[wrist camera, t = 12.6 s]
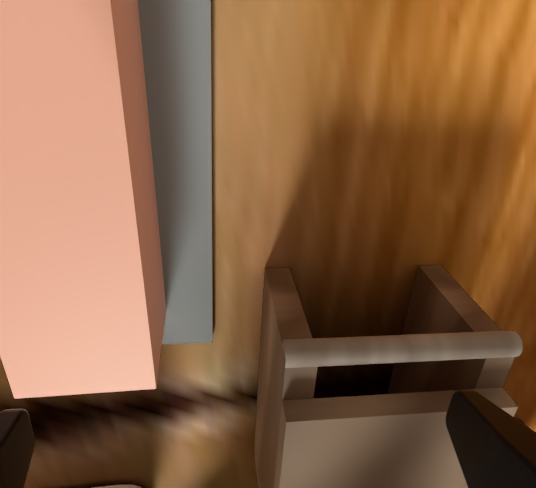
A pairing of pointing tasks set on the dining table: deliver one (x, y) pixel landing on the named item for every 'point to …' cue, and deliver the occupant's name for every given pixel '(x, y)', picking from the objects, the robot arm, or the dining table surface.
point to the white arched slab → (120, 486)
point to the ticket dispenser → (374, 406)
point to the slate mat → (181, 158)
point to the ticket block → (77, 201)
